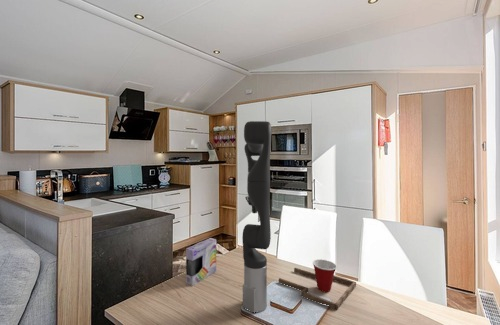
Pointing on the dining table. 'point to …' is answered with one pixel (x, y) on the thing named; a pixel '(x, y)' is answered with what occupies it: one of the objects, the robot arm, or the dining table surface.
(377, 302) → the dining table surface
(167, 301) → the dining table surface
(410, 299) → the dining table surface
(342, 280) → the T fence
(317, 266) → the plastic cup
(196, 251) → the cake pan box
